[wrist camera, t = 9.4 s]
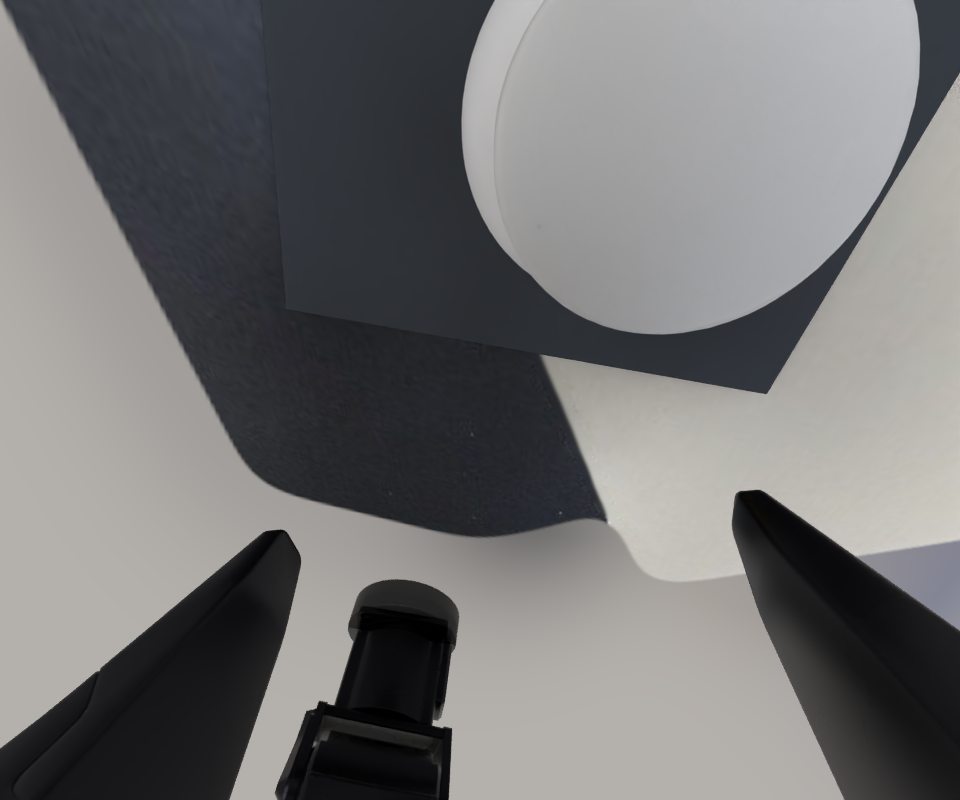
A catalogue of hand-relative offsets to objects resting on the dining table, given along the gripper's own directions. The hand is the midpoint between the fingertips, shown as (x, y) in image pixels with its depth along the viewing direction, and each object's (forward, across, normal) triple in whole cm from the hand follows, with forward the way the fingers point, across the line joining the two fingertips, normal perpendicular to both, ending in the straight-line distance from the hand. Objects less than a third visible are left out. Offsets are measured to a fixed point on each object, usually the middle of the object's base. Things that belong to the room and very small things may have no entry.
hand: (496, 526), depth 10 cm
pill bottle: (+11, -4, -6) cm, 13 cm away
